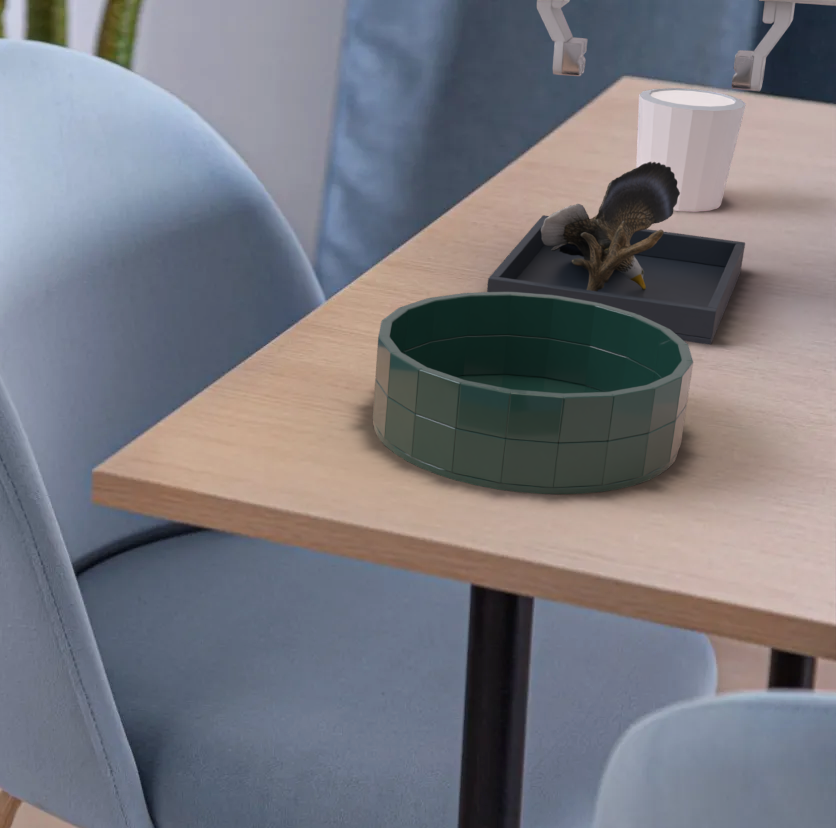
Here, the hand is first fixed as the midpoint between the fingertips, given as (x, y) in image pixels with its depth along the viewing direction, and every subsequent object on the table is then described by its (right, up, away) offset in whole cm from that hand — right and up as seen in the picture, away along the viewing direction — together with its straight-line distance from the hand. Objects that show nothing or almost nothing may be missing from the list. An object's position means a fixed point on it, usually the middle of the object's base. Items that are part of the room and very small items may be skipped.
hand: (656, 81), depth 94 cm
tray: (-1, -11, +5) cm, 12 cm away
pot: (-9, -20, -14) cm, 26 cm away
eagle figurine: (-2, -10, +5) cm, 12 cm away
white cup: (+6, -2, +24) cm, 25 cm away
